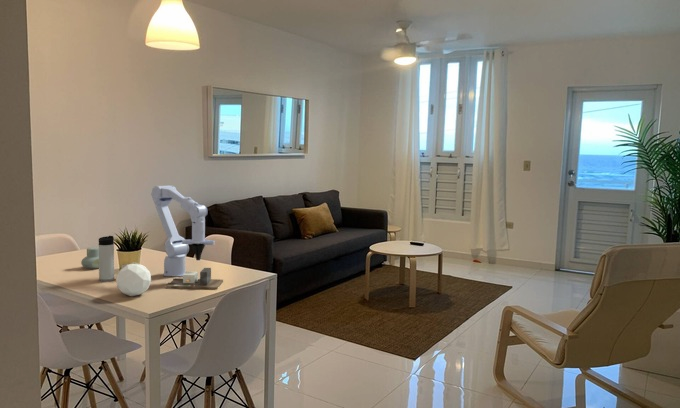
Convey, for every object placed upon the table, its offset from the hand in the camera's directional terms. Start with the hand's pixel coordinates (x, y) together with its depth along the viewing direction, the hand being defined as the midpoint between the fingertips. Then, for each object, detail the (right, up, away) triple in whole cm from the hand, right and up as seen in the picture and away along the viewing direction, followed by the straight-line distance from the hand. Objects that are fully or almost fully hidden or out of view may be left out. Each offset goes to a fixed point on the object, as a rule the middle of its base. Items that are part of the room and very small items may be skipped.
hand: (198, 259), depth 236 cm
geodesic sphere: (-20, -12, -25) cm, 34 cm away
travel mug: (-40, -9, -5) cm, 41 cm away
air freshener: (-57, -6, +16) cm, 59 cm away
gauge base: (+1, -10, -8) cm, 13 cm away
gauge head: (-1, -9, -10) cm, 13 cm away
